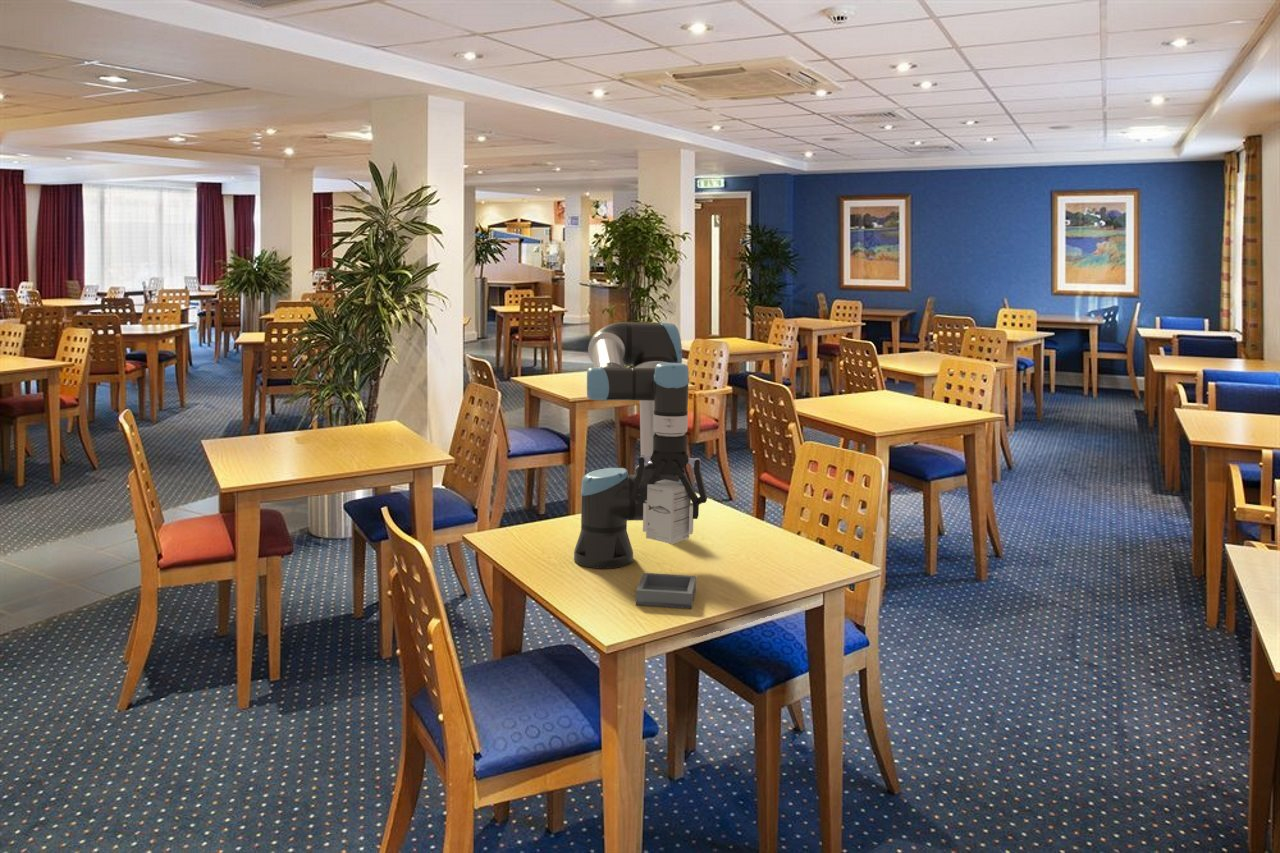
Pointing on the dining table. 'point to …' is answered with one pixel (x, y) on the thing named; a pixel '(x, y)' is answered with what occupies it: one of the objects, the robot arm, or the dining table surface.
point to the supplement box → (667, 512)
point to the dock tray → (666, 590)
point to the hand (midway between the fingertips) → (668, 531)
